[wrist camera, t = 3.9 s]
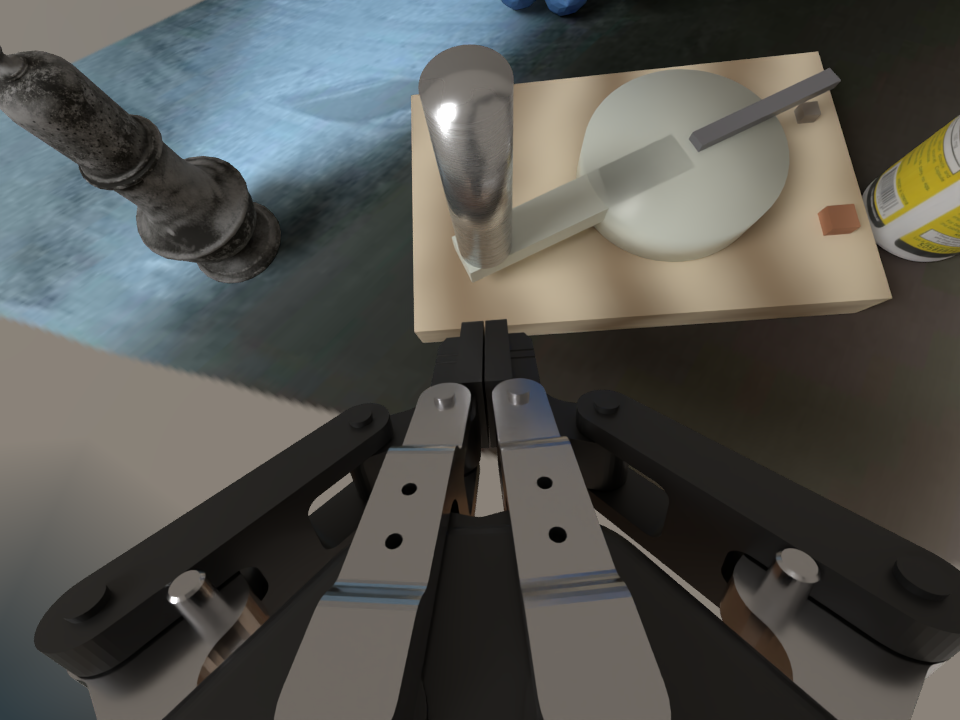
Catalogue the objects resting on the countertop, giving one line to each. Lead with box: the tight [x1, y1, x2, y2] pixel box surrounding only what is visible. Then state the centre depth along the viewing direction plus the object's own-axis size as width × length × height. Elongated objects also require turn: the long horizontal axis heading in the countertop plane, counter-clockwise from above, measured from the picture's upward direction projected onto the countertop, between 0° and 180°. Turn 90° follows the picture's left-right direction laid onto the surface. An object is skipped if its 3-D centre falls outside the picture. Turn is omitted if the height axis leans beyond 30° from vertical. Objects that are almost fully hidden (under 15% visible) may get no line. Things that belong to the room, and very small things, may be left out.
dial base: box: [411, 52, 892, 343], centre depth 21 cm, size 22×14×3 cm, turn 93°
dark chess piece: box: [0, 47, 281, 283], centre depth 18 cm, size 6×6×12 cm
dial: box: [419, 45, 841, 283], centre depth 15 cm, size 19×9×10 cm, turn 115°
